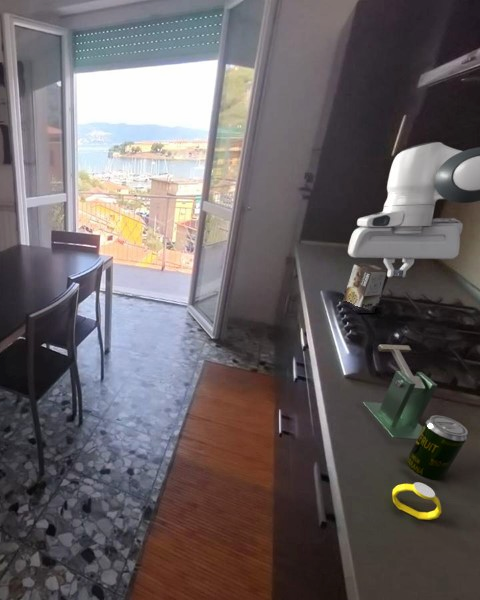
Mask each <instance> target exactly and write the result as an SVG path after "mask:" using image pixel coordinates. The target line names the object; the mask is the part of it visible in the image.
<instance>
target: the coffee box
mask: <svg viewBox="0 0 480 600" xmlns="http://www.w3.org/2000/svg"><path fill="white" fill-rule="evenodd" d="M387 272H388V269H385V268H383V267H381V266H378V265H376V264H374V263H369V262H368V263H354V264H353V266H352V270H351V274H350V277H349V280H348V283H347V286H346V290H345V292H344V296H343V300H342V302H343V301H347V302H350V303H352V304H354V305H355V306H358V307H366V306H377V307H378V306H379V303H380V301H381V298H382V295H383V292H384V291H385V287H386V285H387V282H388V279H389V277H388V276H387Z"/></svg>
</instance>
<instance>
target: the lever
mask: <svg viewBox="0 0 480 600" xmlns="http://www.w3.org/2000/svg"><path fill="white" fill-rule="evenodd" d="M376 348H377V349H378V352H386V353H391V354H392V356H393V358H394V360H395V362H396V363H397V366H398V367H399V370H400V371H402V372H403V373H404V374H405V375H406V376H407V377H408V378H410V379H411V380H412V381H413V382H414V383H415V384H416V385H415V387H414V389H413V391H412V393H420V392H421V391H423V390H424V389H426V388H425V386H424V384H423V383H422V381H421V379H420V377H419V376H415V375H413V372H412V371H411V369H410V367H409V366H408V364H407V362H406V360H405V358H404V356H403V355H402V353H405V354H407V353H409V352H411V351H412V349H411V347H410V345H406V344H405V345H403V344H381V343H380V344H378V346H376Z"/></svg>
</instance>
